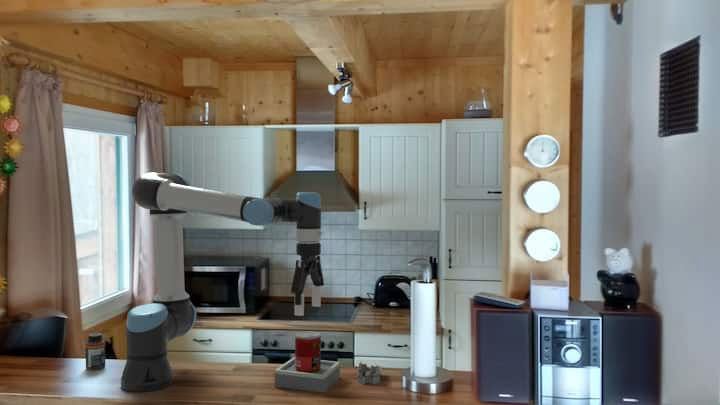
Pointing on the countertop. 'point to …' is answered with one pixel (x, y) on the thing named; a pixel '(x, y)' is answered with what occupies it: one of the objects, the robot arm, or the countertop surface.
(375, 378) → the egg carton
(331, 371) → the tray
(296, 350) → the canned food
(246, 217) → the robot arm
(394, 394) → the countertop surface
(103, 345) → the supplement bottle
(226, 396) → the countertop surface
